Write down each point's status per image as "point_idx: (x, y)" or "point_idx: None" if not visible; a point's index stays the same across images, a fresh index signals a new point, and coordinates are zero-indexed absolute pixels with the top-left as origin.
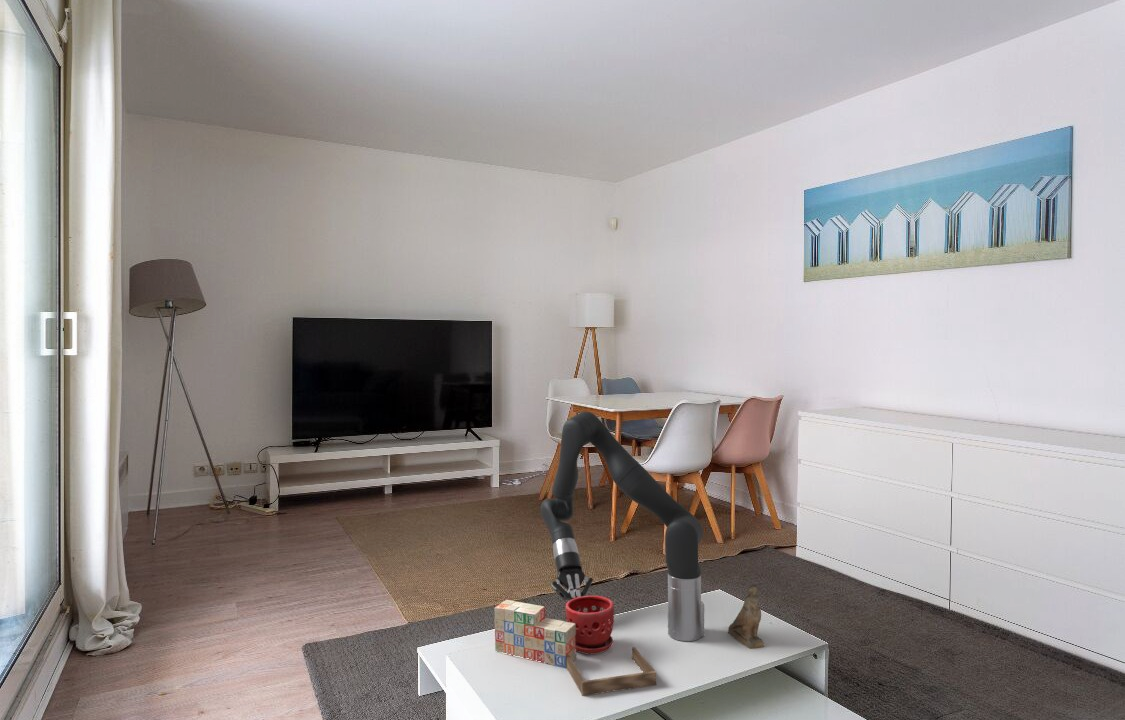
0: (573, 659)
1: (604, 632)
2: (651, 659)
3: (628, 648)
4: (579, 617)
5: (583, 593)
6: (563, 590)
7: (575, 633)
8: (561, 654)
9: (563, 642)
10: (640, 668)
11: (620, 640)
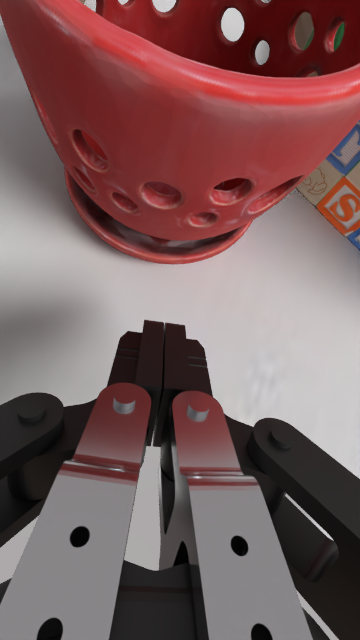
0: None
1: (155, 8)
2: (4, 26)
3: (29, 119)
4: None
5: (47, 405)
6: (340, 497)
7: (304, 46)
8: None
9: None
10: (83, 1)
11: (14, 186)
